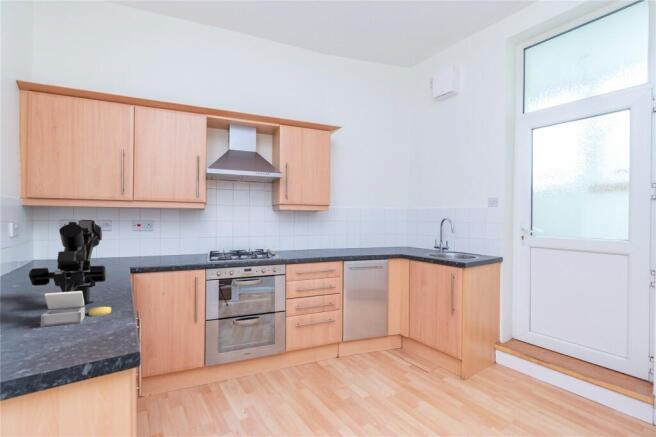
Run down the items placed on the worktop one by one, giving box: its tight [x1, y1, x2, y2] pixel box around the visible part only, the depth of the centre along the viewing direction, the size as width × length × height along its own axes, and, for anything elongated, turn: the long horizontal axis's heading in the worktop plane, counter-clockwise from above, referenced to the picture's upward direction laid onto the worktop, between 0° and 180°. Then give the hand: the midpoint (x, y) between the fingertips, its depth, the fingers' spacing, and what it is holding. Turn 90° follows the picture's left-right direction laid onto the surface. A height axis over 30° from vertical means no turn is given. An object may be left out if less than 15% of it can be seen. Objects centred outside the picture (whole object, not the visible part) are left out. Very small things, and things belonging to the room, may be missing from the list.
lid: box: [44, 291, 85, 310], centre depth 99 cm, size 7×9×1 cm
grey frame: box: [40, 306, 86, 328], centre depth 97 cm, size 7×9×3 cm
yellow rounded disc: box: [88, 306, 112, 317], centre depth 107 cm, size 6×6×2 cm
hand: (65, 298), depth 98 cm, fingers closed, pressing on lid
